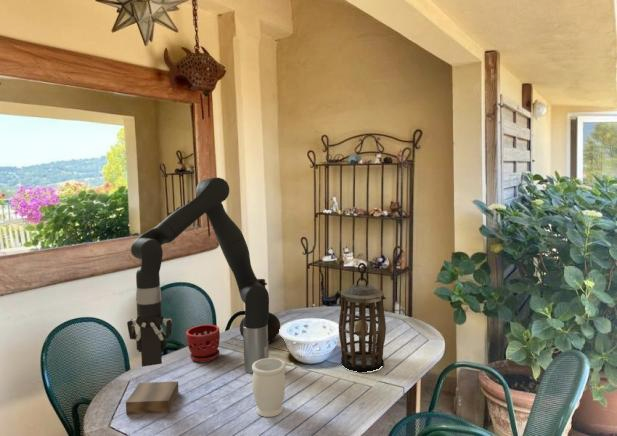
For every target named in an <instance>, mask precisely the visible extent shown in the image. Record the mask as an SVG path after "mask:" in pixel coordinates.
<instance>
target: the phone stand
mask: <svg viewBox="0 0 617 436" xmlns="http://www.w3.org/2000/svg"><path fill="white" fill-rule="evenodd" d="M158 329H159V331H160V327H159V328H158ZM139 330H140V332H141V352H140V353H141V367H148V366H155V365H162V364H163V361H162V351H161V340H160V339H159V337H158V335H156V333H155V331H154V329H153V328H152V327H151V326H145V328H143V327H141V326H140V327H139Z"/></svg>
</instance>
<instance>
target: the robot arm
mask: <svg viewBox="0 0 617 436" xmlns="http://www.w3.org/2000/svg"><path fill="white" fill-rule="evenodd" d="M197 183H198V184H197V186H196V188H195V193H196V197H195V198H193V199H192V200H190V201H189V202H188V203H186V204H185V205H183V206H181V207H179V208H178V209H176V210H174V211H173V212H172V213H170V214H169V215H168V216H166V217H165V218H164V219H163V220H162V221H160V222H159V223H158V224H157V225H156V226H155V227H152V228H151V229H149V230H147V231H145V232H144V233H143V234H141V235H139V236H138V237H137V238H136V239H135V240H134V241H133V242H132V244H131V246H130V252H131V255H132V256H133V257H135V258H136V259H137V260H141V264H140V265H141V266H140V268H139V269H138V270H137V271H136V273H135V278H136V279H135V280H136V281H135V282H136V293H135V301H136V315H137V316H136V319H132V318H130V319H129V320H128V321H127V322H126V325H127V329H128V336H129V339H130V340H135V341H136V350H137V351H138V353H141V332H140V329H139V330H138V332H137V333H136V327H135V326H136V324H137V326H138V327H139V328H140V326H141V327H143V328H145V326H151V327H152V328H153V329H154V331H155V333H156V335H158V337H159V339H160V340H161V352H163V351H164V350H165V348H166V339H169V338H170V336H171V335H172V329H173V318H172V317H168V318H164V316H163V308H162V307H163V306H162V290H161V283H160V281H161V280H160V279H161V278H160V270H161V267H162V260H163V254H164V253H163V252H164V251H163V247H162V246H163V245H165V244H170V243H172V242H174V240H176V239H177V238H178V237H179V236H180V235H181V234H183V232H184V231H185V230H187V229H188V228H189V227H190V226H191V225H192V224H193V223H194V222H196V221H197V220H198V219H200V217H202V216H203V215H206V217H207V218H208V220H209V222H210V225H211V228H212V230H213V232H214V234H215V237H216V239H217V242H218V245H219V247H220V249H221V252H222V255H223V256H224V258H225V260H226V263H227V265H228V266H229V268H230V270H231V272H232V274H233V276H234V278H235V282H236V285H237V289H238V292H239V295H240V298H241V301H242V302H243V303H244V317H243V318H242V319H243V336H242V338H243V361H244V362H243V364H244V367H243V368H244V371H245V372H246V373H249V374H253V372H254V371H253V370H252V364H253V363H254V362H255V361H257V360H260V359H265V358H270V354H269V343H268V318H269V312H270V295H269V292H268V290H267V288H266V286H265V287H264V286H262V285H261V284H260V283H259V282H258V280H257V279H258V278H257V276H256V274H255V271H254V270H253V267H252V263H251V258H250V257H251V256H250V251H249V247H248V244H247V242H246V239H245V236H244V234H243V231H241V229H240V227H239V226H238V225H237V224H236V222H234V221H233V220H232V218H231V217H230V216H229V215H228V213H227V212H226V210H225V208H224V205H223V202H224V201H226V200H227V198H229V195H230V185H229V183H228V182H227V180H225V179H224V178H221V177H211V178H206V179H203V180H201V181H199V182H197ZM163 323H164V325H165V332H164V329H163V327H162V324H163ZM159 327H160V331H159V329H158V328H159Z"/></svg>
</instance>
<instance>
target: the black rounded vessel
mask: <svg viewBox="0 0 617 436" xmlns="http://www.w3.org/2000/svg"><path fill="white" fill-rule="evenodd" d="M257 280H258V282H259V283H260V284H261V285H262V286H264V287H265V288H266V286H267V285H268V283H267V282H266V279H264V278H257ZM279 329H280V330H281V322H280V320H279V318H278V317H277V315H275V314H273V313H271V312H270V311H269V318H268V344H269V343H272V341H274V340H275V339H276V338H277V336H278V334H279V333H280V332H279ZM239 332H240V335H241V336H242V337H243V318H242V319H241V321H240V323H239Z"/></svg>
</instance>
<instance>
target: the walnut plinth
mask: <svg viewBox="0 0 617 436" xmlns="http://www.w3.org/2000/svg"><path fill="white" fill-rule="evenodd" d="M179 393H180V391H179V381H158V382H157V381H156V382H152V381H151V382H139V383H138V384H137V385H136V386H135V388H134V390H133V391H132V393H131V394H130V396H129V397H128V398H127V400H126V401H125V411H126V412H125V413H126V415H146V414H147V415H148V414H167V413H170V411H171V409H172V407H173V404H174V403H175V401H176V398H177V397H178V395H179Z"/></svg>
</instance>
